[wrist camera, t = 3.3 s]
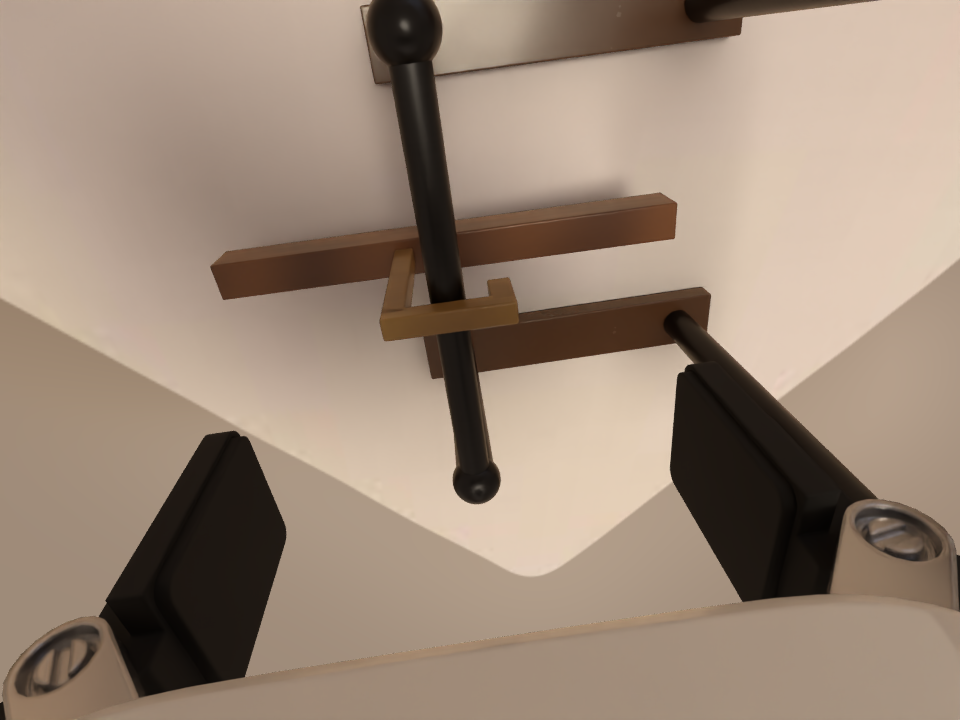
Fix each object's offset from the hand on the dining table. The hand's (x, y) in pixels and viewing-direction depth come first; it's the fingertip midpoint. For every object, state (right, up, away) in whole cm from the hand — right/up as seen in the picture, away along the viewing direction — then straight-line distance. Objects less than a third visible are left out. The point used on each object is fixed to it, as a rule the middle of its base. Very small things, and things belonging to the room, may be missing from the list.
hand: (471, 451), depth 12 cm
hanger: (-1, +7, +12) cm, 14 cm away
